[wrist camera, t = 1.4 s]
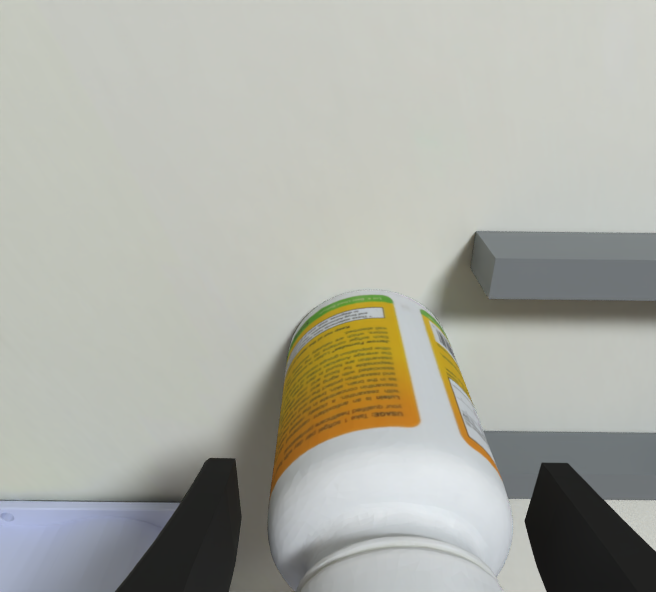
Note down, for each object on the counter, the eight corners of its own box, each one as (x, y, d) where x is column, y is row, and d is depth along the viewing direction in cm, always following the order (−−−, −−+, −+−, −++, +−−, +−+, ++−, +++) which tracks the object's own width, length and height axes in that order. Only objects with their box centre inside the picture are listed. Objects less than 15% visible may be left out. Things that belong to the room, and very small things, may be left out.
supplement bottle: (265, 388, 18) (205, 726, 9) (325, 259, 15) (319, 549, 7) (402, 434, 19) (463, 777, 10) (478, 319, 16) (641, 639, 8)
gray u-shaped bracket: (441, 454, 19) (452, 497, 17) (476, 231, 15) (495, 258, 13) (716, 457, 19) (756, 501, 17) (829, 235, 15) (896, 263, 13)
